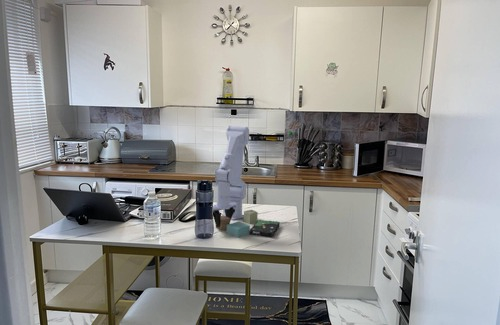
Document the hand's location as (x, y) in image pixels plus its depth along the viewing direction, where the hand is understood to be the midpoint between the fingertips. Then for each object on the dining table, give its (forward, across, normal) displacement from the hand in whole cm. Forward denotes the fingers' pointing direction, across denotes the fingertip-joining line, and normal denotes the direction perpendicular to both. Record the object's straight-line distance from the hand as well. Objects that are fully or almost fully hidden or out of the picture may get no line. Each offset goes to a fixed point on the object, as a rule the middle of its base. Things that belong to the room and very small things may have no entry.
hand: (222, 225), depth 170 cm
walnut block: (+2, 0, 0) cm, 2 cm away
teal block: (+2, +2, -9) cm, 9 cm away
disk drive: (+2, +14, -13) cm, 19 cm away
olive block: (+2, +16, 0) cm, 16 cm away
